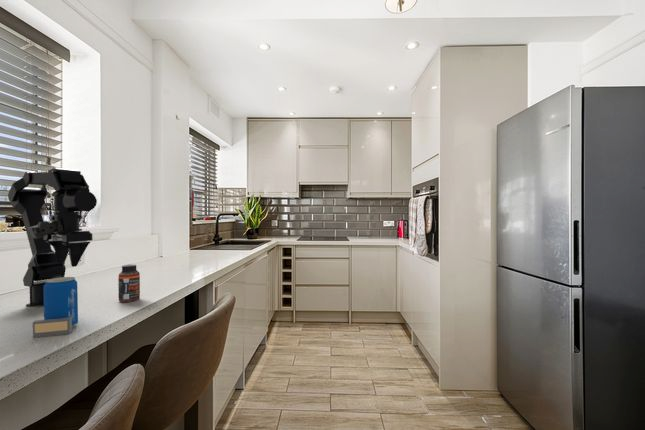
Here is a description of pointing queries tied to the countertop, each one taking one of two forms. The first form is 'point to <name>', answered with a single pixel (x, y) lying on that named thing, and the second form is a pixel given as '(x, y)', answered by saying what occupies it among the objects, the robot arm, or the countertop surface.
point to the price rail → (52, 327)
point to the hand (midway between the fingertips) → (67, 265)
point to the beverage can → (61, 299)
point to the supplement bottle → (129, 284)
